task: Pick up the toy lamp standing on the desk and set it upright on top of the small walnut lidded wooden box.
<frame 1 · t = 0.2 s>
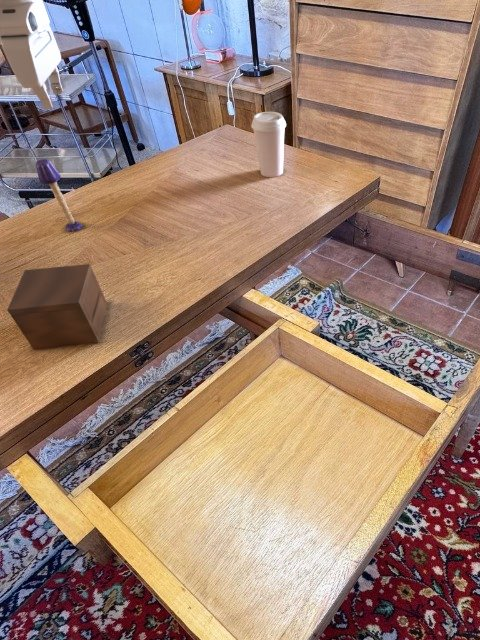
hand: (54, 100, 92), 28 cm above the table, tool pointing down, fingers open, 8 cm apart
lidded wooden box: (73, 327, 87), on the table
coffee cup: (271, 174, 130), on the table
toy lamp: (73, 231, 112), on the table
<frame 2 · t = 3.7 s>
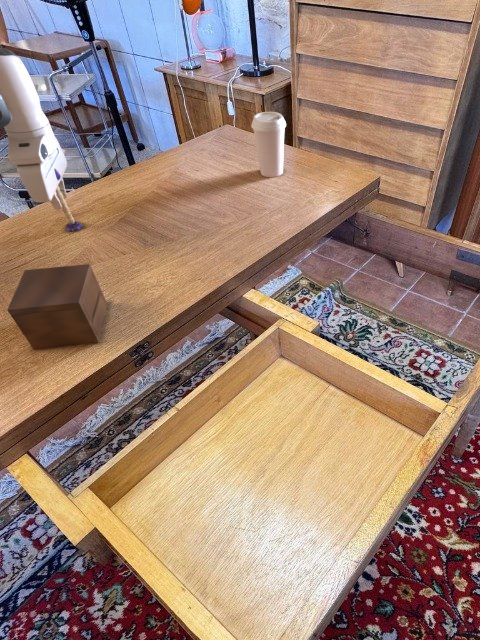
hand: (61, 202, 106), 7 cm above the table, tool pointing down, fingers closed on toy lamp, 4 cm apart
toy lamp: (73, 231, 112), on the table, touching gripper
everything else where it was.
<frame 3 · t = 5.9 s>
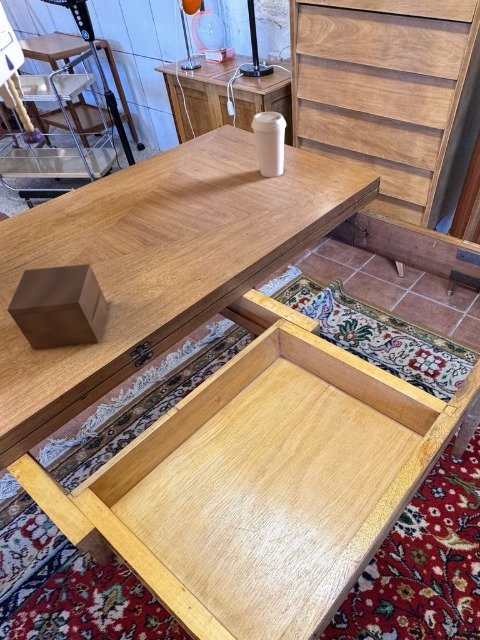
hand: (16, 102, 90), 28 cm above the table, tool pointing down, fingers closed on toy lamp, 4 cm apart
toy lamp: (33, 141, 96), point 21 cm above the table, touching gripper
everything else where it was.
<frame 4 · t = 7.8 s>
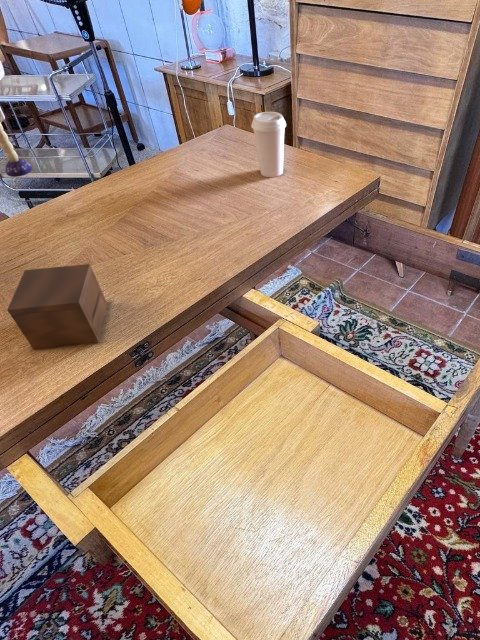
toy lamp: (18, 173, 78), point 24 cm above the table, touching gripper
everything else where it was.
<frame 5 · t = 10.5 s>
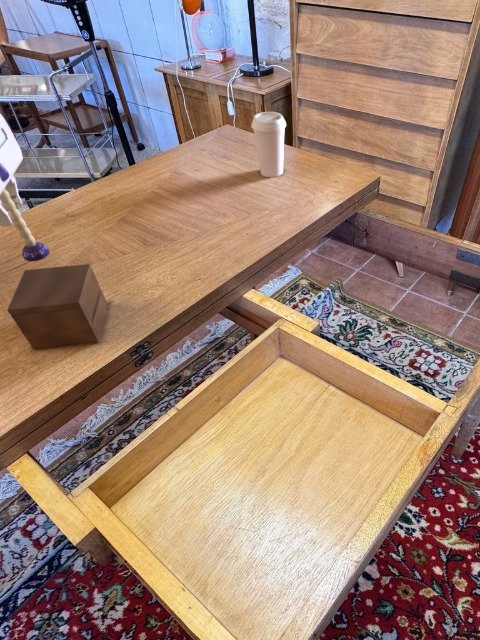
hand: (12, 215, 70), 23 cm above the table, tool pointing down, fingers closed on toy lamp, 4 cm apart
toy lamp: (35, 256, 75), point 16 cm above the table, touching gripper
everything else where it was.
when the fingers open (17 cm above the table, at t = 12.3 s): toy lamp stays where it is, resting on lidded wooden box.
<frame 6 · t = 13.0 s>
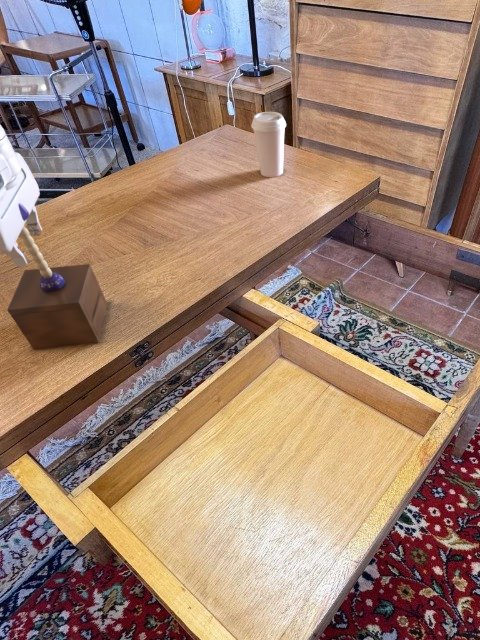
hand: (30, 248, 74), 17 cm above the table, tool pointing down, fingers open, 8 cm apart
toy lamp: (51, 286, 80), point 10 cm above the table, touching lidded wooden box
everything else where it was.
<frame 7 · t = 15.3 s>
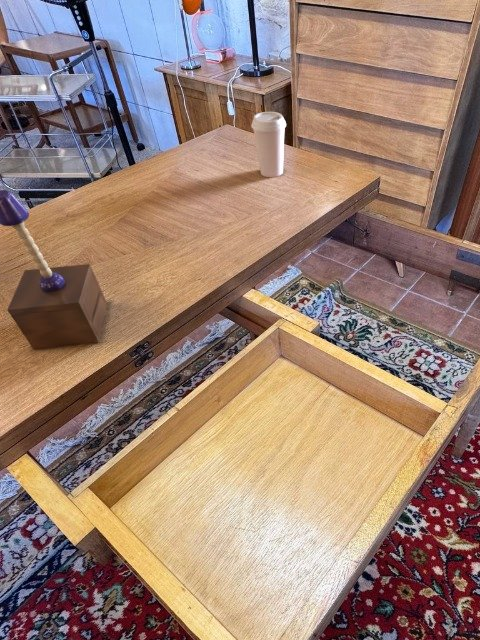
nothing on the table moved.
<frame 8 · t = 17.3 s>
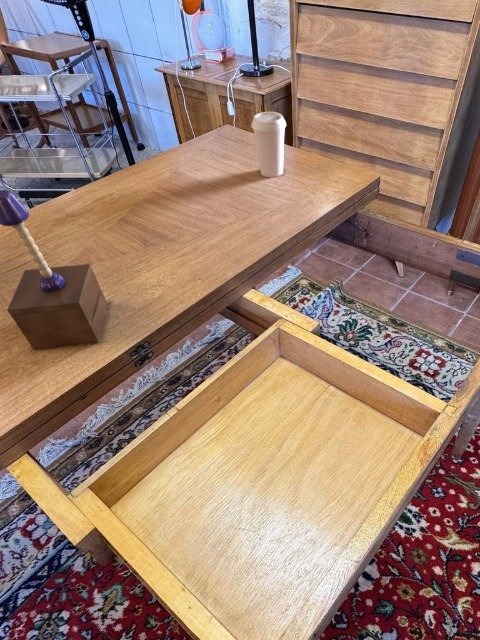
nothing on the table moved.
at the end: toy lamp inside the target area on the lidded wooden box (0.1 cm from its centre), point 9.8 cm above the lidded wooden box's base; toy lamp tilted 0°; the gripper is holding nothing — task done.
